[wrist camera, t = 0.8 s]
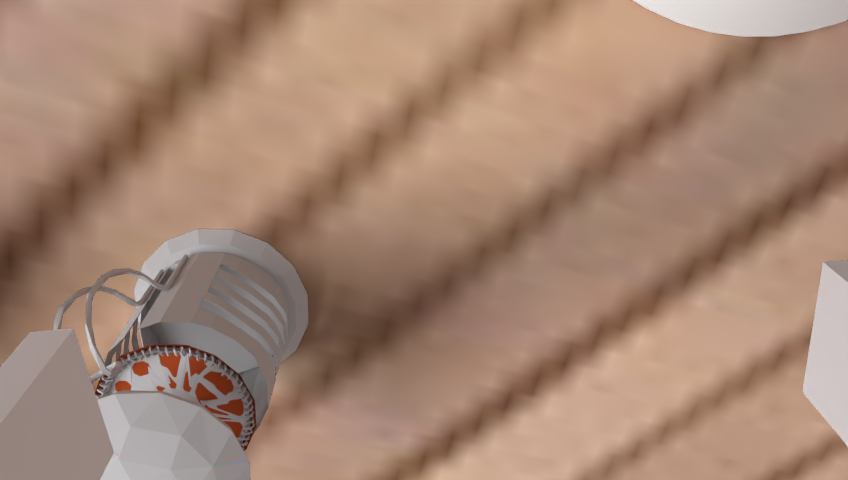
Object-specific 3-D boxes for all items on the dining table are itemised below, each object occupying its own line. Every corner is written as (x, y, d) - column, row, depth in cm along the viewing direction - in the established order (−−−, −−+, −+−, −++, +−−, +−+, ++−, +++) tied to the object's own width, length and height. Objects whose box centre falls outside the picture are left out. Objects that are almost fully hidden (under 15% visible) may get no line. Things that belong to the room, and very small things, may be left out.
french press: (207, 406, 44) (6, 928, 22) (74, 259, 40) (-350, 713, 17) (343, 330, 43) (280, 812, 20) (218, 168, 38) (-44, 542, 16)
